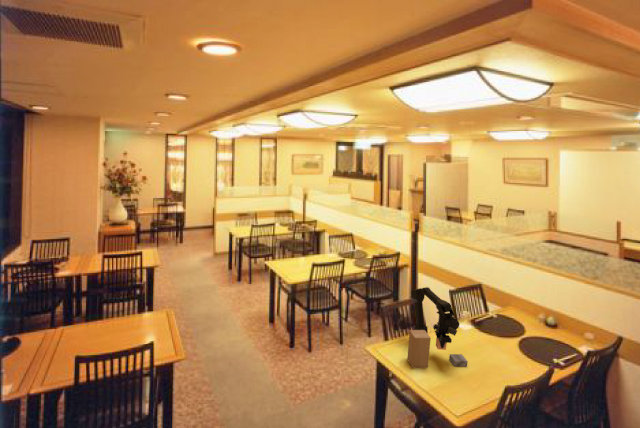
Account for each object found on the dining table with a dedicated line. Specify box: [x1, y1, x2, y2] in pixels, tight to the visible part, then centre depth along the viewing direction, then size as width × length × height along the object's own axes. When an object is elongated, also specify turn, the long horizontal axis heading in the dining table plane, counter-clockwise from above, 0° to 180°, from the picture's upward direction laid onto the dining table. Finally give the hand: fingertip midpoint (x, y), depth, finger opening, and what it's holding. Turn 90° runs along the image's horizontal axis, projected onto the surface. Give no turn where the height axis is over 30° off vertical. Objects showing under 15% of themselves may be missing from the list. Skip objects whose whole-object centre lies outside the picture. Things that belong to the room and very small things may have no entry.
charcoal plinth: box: [448, 353, 468, 368], centre depth 227 cm, size 8×8×4 cm
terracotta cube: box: [435, 337, 448, 351], centre depth 225 cm, size 5×5×5 cm
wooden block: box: [406, 329, 432, 369], centre depth 223 cm, size 10×10×20 cm
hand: (440, 345), depth 226 cm, fingers closed on terracotta cube, 5 cm apart
